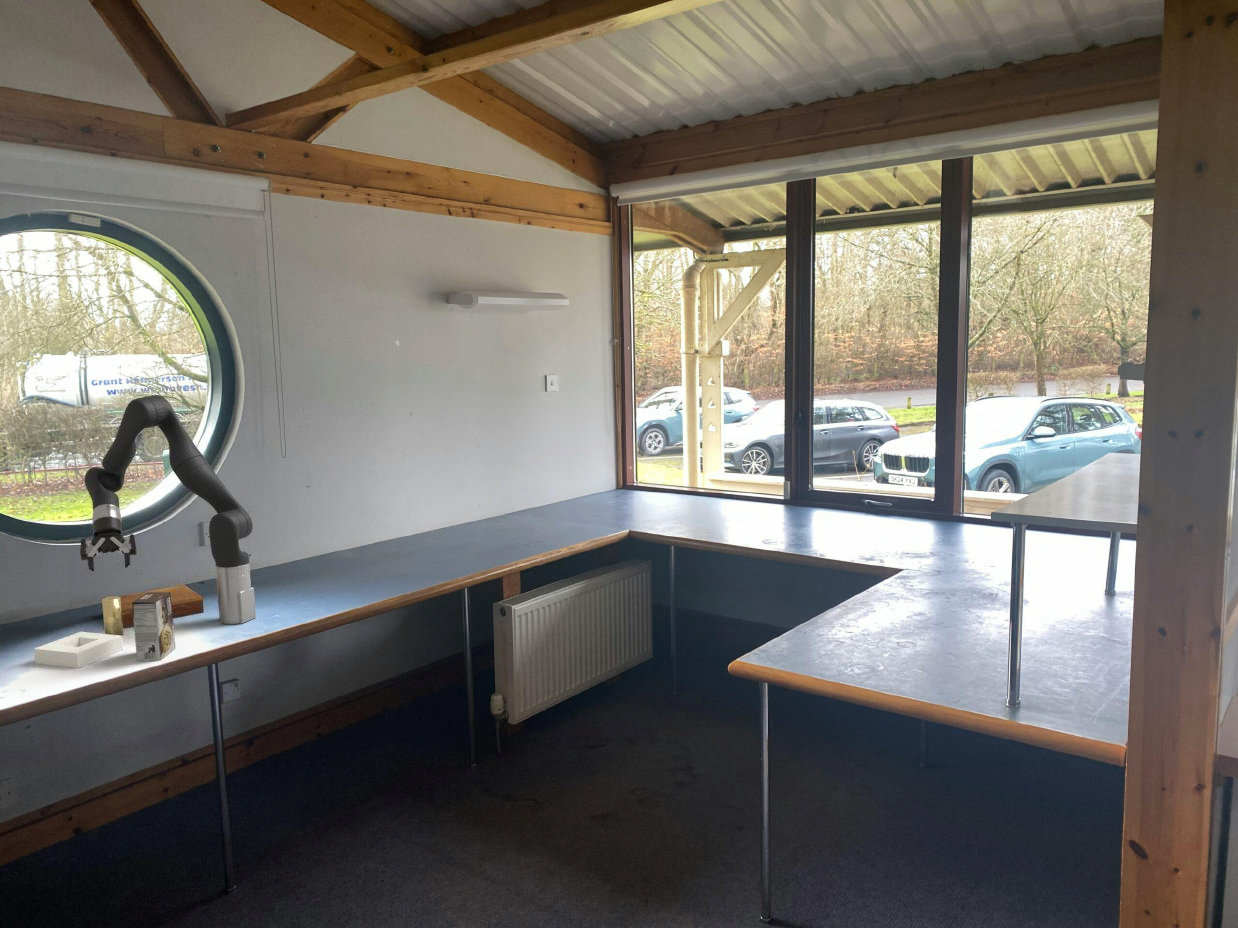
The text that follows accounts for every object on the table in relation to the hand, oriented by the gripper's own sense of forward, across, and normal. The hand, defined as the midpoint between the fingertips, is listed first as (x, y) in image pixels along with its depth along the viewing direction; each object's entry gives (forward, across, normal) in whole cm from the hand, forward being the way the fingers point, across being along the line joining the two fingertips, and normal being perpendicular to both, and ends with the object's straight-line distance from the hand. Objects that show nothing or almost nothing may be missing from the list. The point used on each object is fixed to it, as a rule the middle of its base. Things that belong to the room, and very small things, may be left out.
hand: (109, 567), depth 253 cm
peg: (+20, 0, +5) cm, 20 cm away
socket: (+30, -8, -5) cm, 32 cm away
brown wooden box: (+8, +11, +18) cm, 22 cm away
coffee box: (+37, +10, -12) cm, 40 cm away
